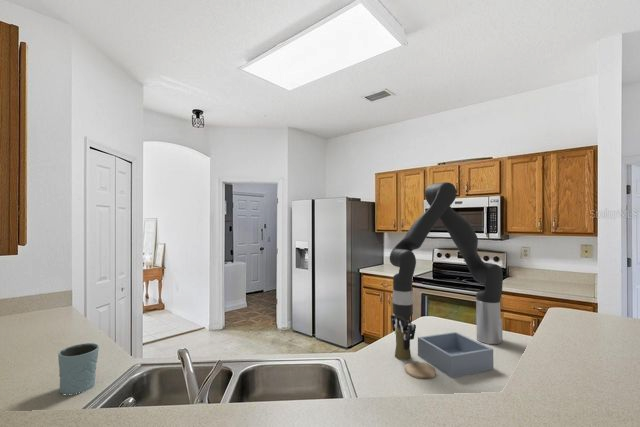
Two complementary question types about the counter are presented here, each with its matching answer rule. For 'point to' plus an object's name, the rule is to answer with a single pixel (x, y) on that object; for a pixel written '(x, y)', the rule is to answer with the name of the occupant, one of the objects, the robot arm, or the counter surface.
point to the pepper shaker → (401, 346)
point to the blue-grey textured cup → (77, 368)
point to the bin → (455, 354)
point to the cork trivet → (420, 370)
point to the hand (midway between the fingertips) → (402, 346)
